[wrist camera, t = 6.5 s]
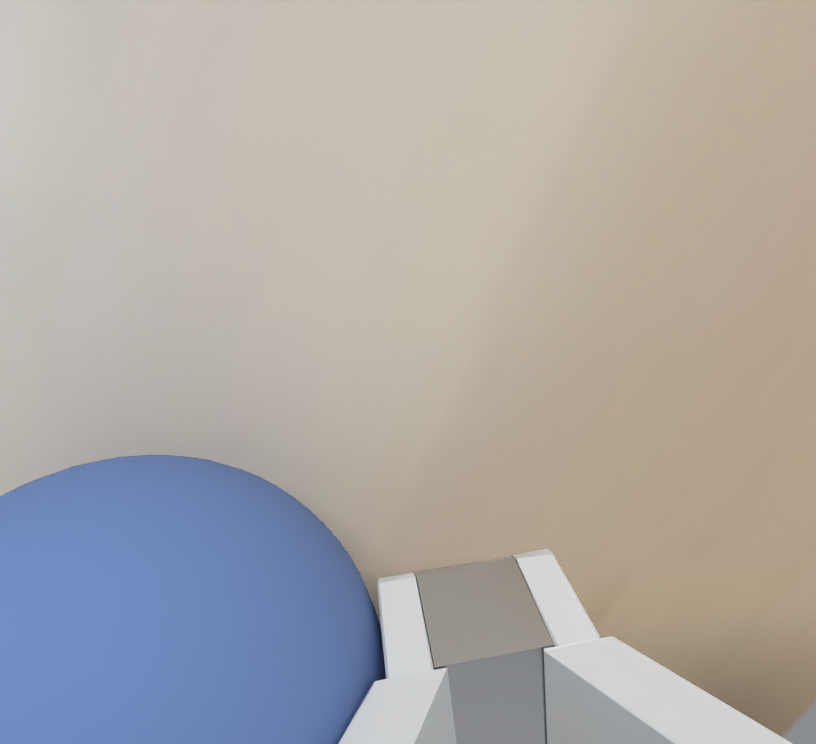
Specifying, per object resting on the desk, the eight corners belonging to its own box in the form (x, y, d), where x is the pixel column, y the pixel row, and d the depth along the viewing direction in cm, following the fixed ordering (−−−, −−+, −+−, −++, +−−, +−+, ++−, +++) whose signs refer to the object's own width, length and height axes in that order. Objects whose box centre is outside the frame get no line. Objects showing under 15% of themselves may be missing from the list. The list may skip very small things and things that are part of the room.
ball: (172, 631, 12) (-205, 1031, 7) (100, 358, 9) (-578, 651, 4) (454, 731, 10) (222, 1434, 4) (454, 410, 7) (-45, 1132, 2)
